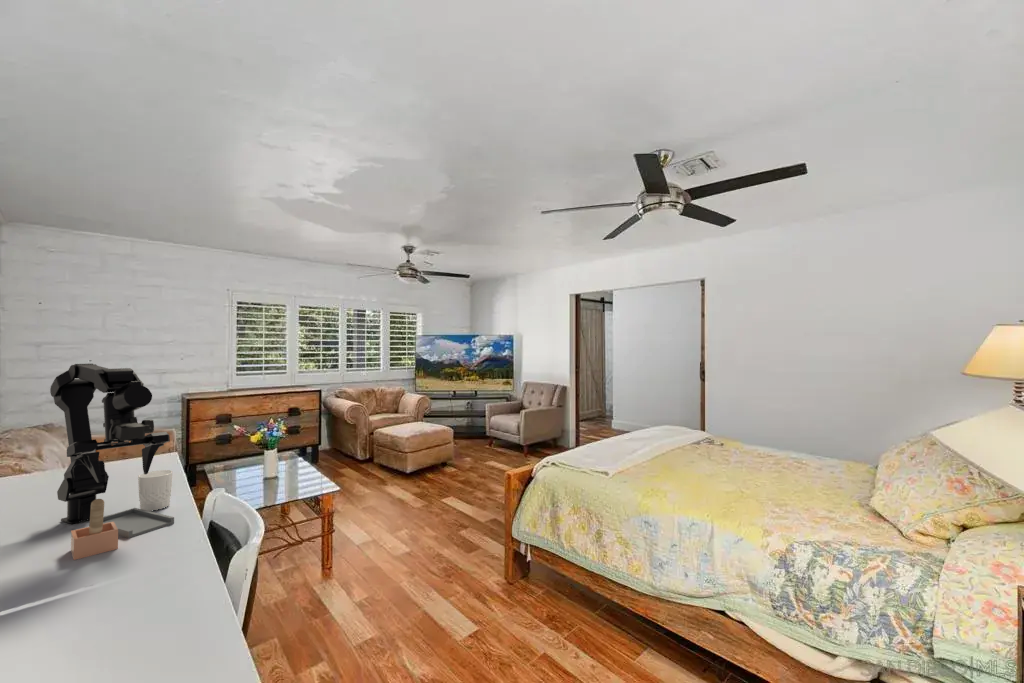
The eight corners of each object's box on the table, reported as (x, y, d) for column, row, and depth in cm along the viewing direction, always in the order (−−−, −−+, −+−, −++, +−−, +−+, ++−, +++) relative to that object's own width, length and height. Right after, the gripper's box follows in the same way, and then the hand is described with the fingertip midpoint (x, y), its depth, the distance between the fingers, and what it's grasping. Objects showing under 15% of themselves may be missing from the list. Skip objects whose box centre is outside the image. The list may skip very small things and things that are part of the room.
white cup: (152, 513, 124) (153, 478, 124) (130, 511, 126) (130, 476, 126) (178, 504, 132) (179, 470, 132) (157, 502, 133) (158, 469, 134)
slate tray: (89, 529, 113) (89, 520, 113) (134, 515, 122) (135, 507, 122) (128, 540, 106) (128, 531, 106) (174, 525, 115) (174, 517, 115)
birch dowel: (87, 547, 100) (88, 495, 100) (100, 543, 101) (101, 492, 101) (90, 555, 96) (91, 501, 96) (104, 552, 97) (105, 498, 97)
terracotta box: (70, 552, 100) (71, 530, 100) (113, 542, 105) (113, 521, 105) (73, 562, 95) (73, 539, 95) (117, 551, 100) (118, 529, 101)
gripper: (82, 413, 100) (85, 482, 97) (177, 406, 116) (182, 465, 113) (64, 422, 105) (67, 488, 102) (157, 415, 121) (162, 472, 118)
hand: (123, 478), depth 109 cm, fingers open, 9 cm apart
